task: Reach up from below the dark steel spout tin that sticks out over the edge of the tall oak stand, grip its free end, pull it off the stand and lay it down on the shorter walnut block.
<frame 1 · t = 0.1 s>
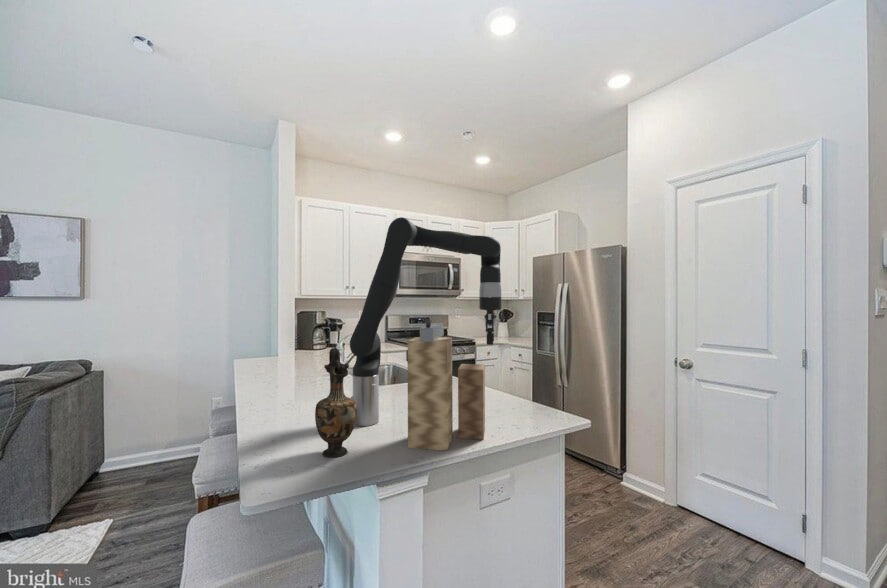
hand: (490, 343, 132), 29 cm above the countertop, fingers open, 8 cm apart
vase: (336, 452, 112), on the countertop
tin: (432, 338, 123), point 32 cm above the countertop, touching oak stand
walnut block: (472, 433, 127), on the countertop
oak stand: (431, 442, 119), on the countertop
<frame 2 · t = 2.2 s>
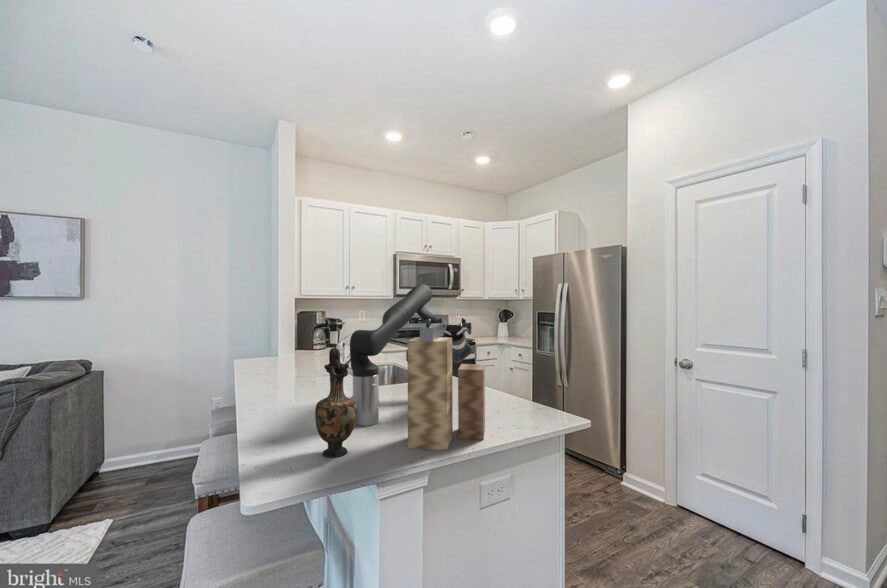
hand: (451, 320, 146), 36 cm above the countertop, fingers open, 8 cm apart
nothing on the countertop moved.
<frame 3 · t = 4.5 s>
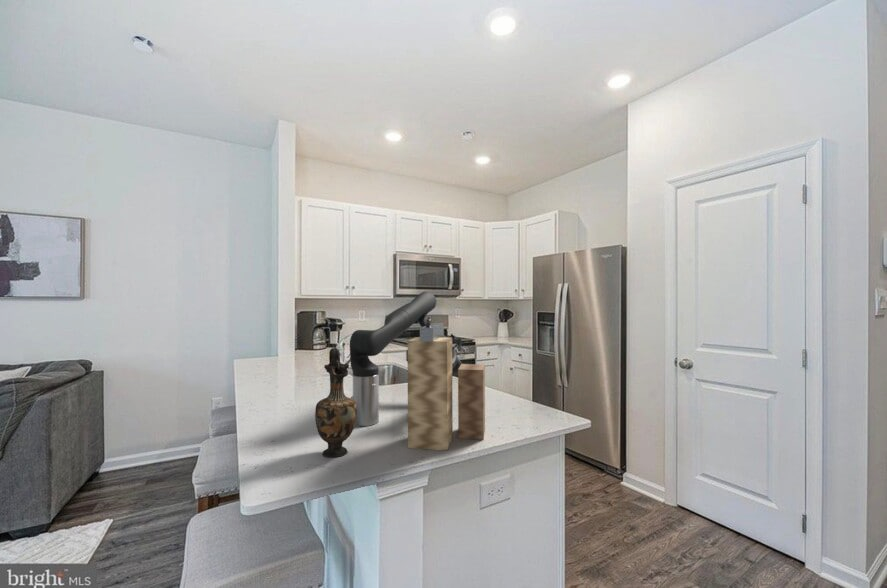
hand: (439, 336, 136), 31 cm above the countertop, fingers open, 8 cm apart
nothing on the countertop moved.
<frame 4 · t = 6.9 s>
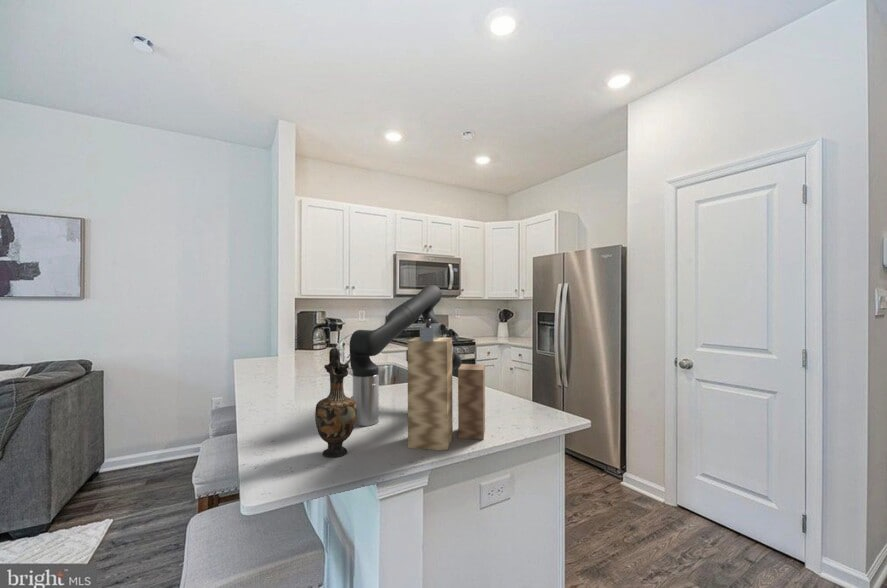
hand: (435, 326, 128), 35 cm above the countertop, fingers closed on tin, 4 cm apart
tin: (432, 338, 123), point 32 cm above the countertop, touching gripper, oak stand
everything else where it was.
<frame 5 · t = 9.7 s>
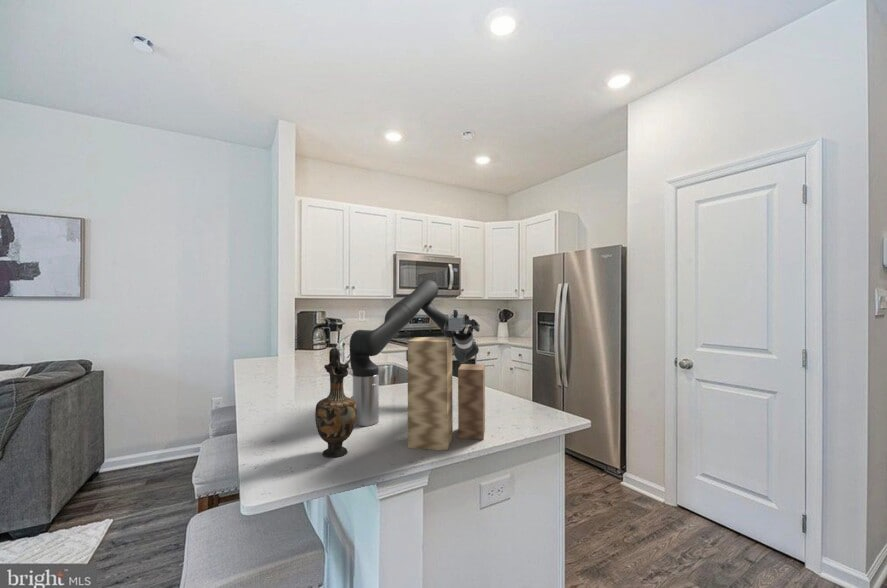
hand: (459, 316, 136), 38 cm above the countertop, fingers closed on tin, 4 cm apart
tin: (458, 327, 131), point 35 cm above the countertop, touching gripper
everything else where it was.
when the fingers open (27 cm above the countertop, at t = 12.4 s): tin drops 2 cm, resting on walnut block.
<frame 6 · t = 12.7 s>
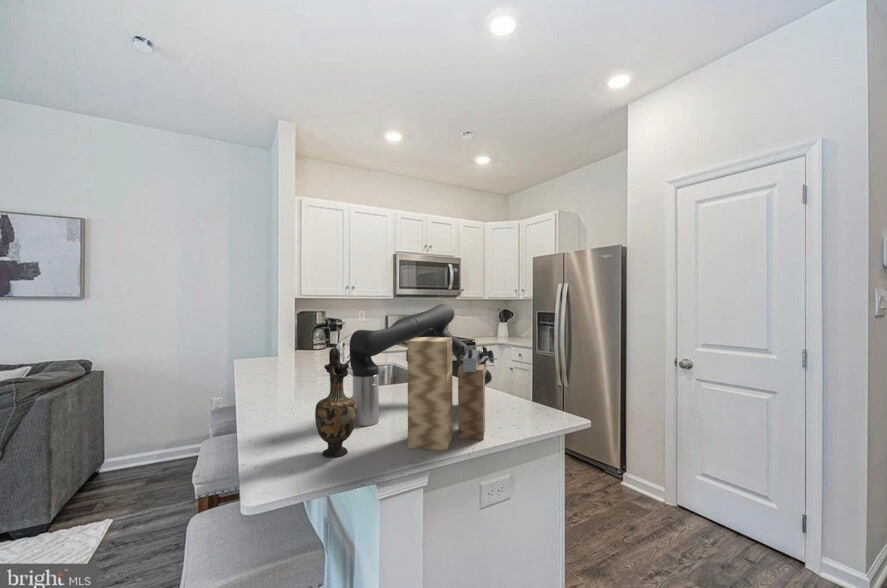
hand: (473, 348, 134), 27 cm above the countertop, fingers open, 6 cm apart
tin: (472, 365, 129), point 22 cm above the countertop, touching walnut block
everything else where it was.
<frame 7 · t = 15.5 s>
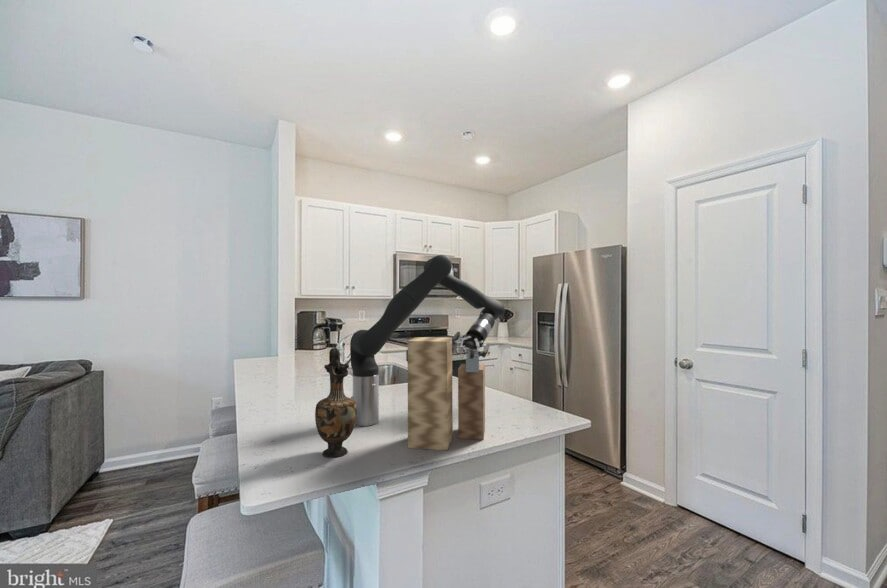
hand: (462, 355, 140), 24 cm above the countertop, fingers open, 8 cm apart
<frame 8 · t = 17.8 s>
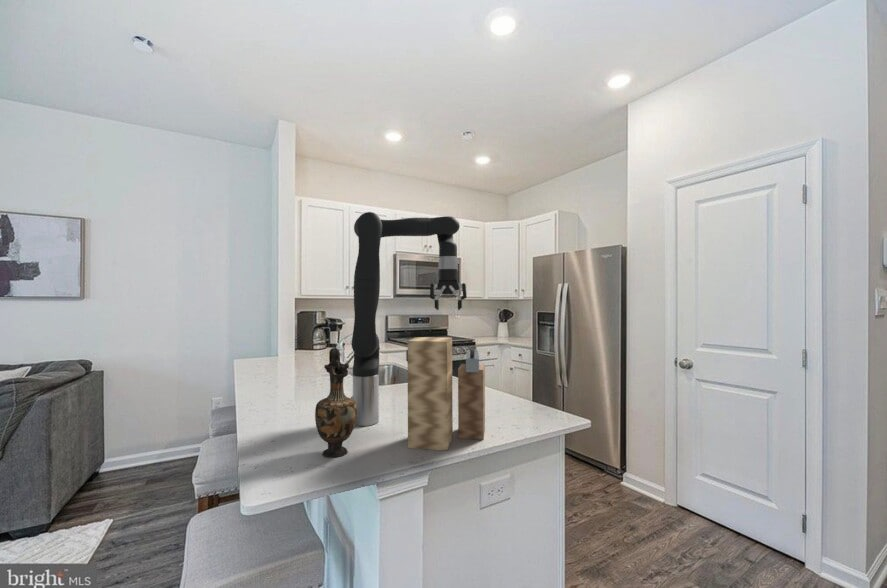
hand: (448, 309, 151), 40 cm above the countertop, fingers open, 8 cm apart
nothing on the countertop moved.
at the end: tin inside the target area on the walnut block (1.1 cm from its centre), point 22.0 cm above the walnut block's base; the gripper is holding nothing; tin touching walnut block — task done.
